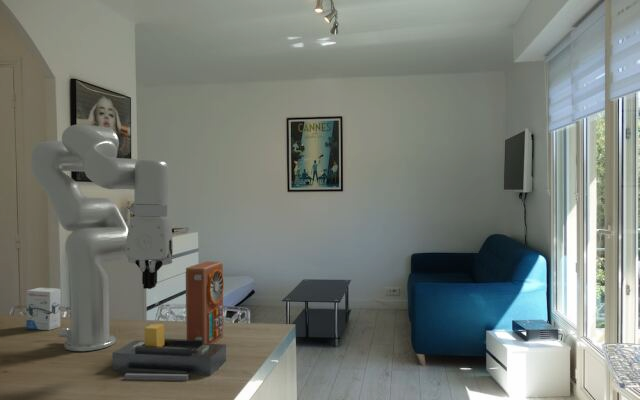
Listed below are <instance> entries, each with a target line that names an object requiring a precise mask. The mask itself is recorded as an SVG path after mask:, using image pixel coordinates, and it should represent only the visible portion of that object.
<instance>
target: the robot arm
mask: <svg viewBox="0 0 640 400" xmlns="http://www.w3.org/2000/svg"><path fill="white" fill-rule="evenodd" d="M119 147H120V140H119V137H118V135H117V134H116V131H114V130H113V129H112V128H109V127H108V126H107V127H106V126H101V125H88V124H73V125H70V126H68V127H66V128H65V129H64V130H63V132H62V134H61V140H48V141H42V142H39V143H37V144H35V145H34V146H33V147H32V149H31V153H30V166H31V170H32V174H33V176H34V179H36V182H37V183H38V184H39V186H40V187H41V189H42V190H43V191H44V193H45V194H46V195H47V197H48V199H49V202H50V205H51V207H52V209H53V211H54V214H55V215H56V217H57V219H58V221H59V224H60V226H61V227H62V228H63V229H64V230H65V231H67V232H71V233H69V235H67V237H66V240H65V242H64V243H65V245H64V246H65V253H66V259H67V263H68V268H69V269H68V270H69V271H68V272H69V290H70V291H69V295H70V297H69V298H70V299H69V300H70V303H69V304H70V327H62V328H61V329H60V332H59V333H58V336H59V337H60V338H66V341H65V342H64V344H63V345H64V349H65V350H68V351H72V352H90V351H95V350H96V351H97V350H100V349H105V348H107V347H110V346H112V345H114V344H115V343H116V337H115V336H114V335H113V334H110V300H109V299H110V298H109V297H110V292H109V289H110V287H109V285H110V284H109V283H110V282H109V276H108V274H107V272H106V271H105V269H104V268H103V266H102V265H101V263H105V262H113V261H114V262H115V261H121V260H123V259H124V260H125V259H127V261H128V262H129V263H131V264H134V265H136V266H137V267H138V268H139V270H140V272H141V273H142V277H141V278H142V280H141V282H142V285H143V289H145V290H147V289H148V290H152V289H154V288H155V287H156V286H157V284H158V271H159V270H160V269H161V268H162V267H163V266H167V265H171V264H173V259H172V257H173V254H174V253H173V252H174V248H173V247H174V243H173V242H174V241H173V240H174V239H173V231H172V222H171V218H170V217H168V189H169V188H168V187H169V184H168V183H169V166H168V163H167V162H166V161H164V160H159V159H137V158H124V157H118V150H119ZM65 172H83V173H84V174H85V176H86V178H88V179H89V180H90V181H91V182H92V183H94V184H96V185H97V186H98V187H101V188H103V189H107V190H133V192H134V196H133V197H134V198H133V200H134V203H133V205H130V206H129V207H128V208H129V209H128V211H129V212H132V213H133V216H131V217H130V218H129V222H128V225H127V223H126V221H125V219H124V217H123V215H122V213H121V211H120V210H119V207H118V206H117V204H116V203H115V202H114V201H113V200H112V199H109V198H107V197H89V196H86V195H85V194H84V193H83V191H82V189H81V187H80V185H79V183H78V182H77V181H75V179H73V178H72V177H71V176H69V175H68V174H66V173H65Z"/></svg>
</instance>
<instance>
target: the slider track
mask: <svg viewBox="0 0 640 400" xmlns="http://www.w3.org/2000/svg"><path fill="white" fill-rule="evenodd" d="M164 340H165V345H163V346H162V347H159V346H145V340H137V339H136V340H133V341H131V342H129V343H127V344H126V345H124V346H122V347H120V348H119V349H116V350H114V351H113V352H112V370H114V371H118V369H120V368H121V367H122V368H140V369H158V370H176V371H187V374H188V375H200V376H212V375H213V374H214V373H215V372H216V371H217V370H218V369H219V368H220V367H222V365H223V364H225V362H227V344H225V343H213V344H205V340H190V339H187V338H185V339H184V338H169V337H168V338H165V337H164Z"/></svg>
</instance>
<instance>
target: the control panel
mask: <svg viewBox="0 0 640 400" xmlns="http://www.w3.org/2000/svg"><path fill="white" fill-rule="evenodd" d="M223 264H224V263H223V261H210V260H209V261H203V262H200V263H196V264H193V265H190V266H188V267H186V268H185V274H184V275H185V307H186V310H185V313H186V314H185V315H186V316H185V317H186V320H185V321H186V339H190V340H205V344H215V343H216V342H217V341H219V340H220V339H222V337H224V276H223V275H224V272H223V270H224V268H223V267H224V265H223Z"/></svg>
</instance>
